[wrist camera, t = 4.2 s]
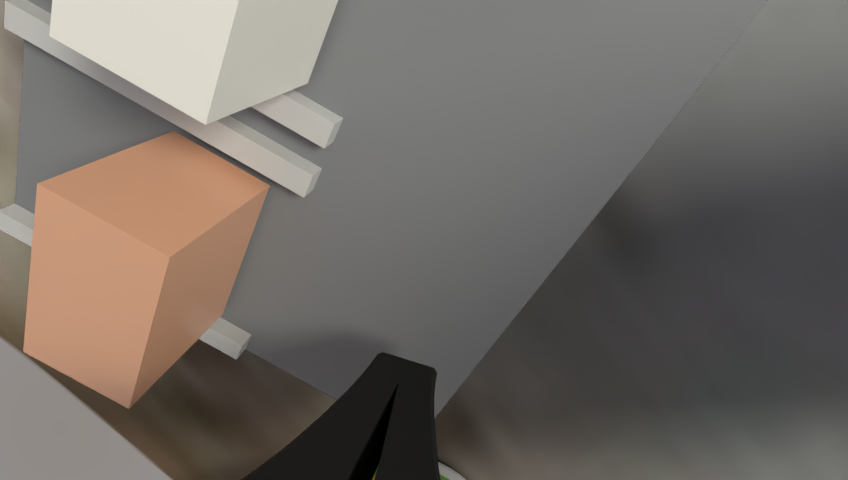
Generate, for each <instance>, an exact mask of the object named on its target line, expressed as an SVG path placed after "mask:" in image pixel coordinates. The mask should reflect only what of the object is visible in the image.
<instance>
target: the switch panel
mask: <svg viewBox="0 0 848 480" xmlns="http://www.w3.org/2000/svg"><path fill="white" fill-rule="evenodd" d="M767 1H768V0H338V2H337V5H336V8H335V11H334V13H333V16H332V19H331V21H330V24H329V27H328V30H327V32H326V35H325V38H324V40H323V43H322V46H321V49H320V51H319V54H318V57H317V59H316V62H315V65H314V68H313V70H312V73H311V76H310V78H309V81H308V84H305V85H303V86H300V87H298V88H295V89H293V90H290V91H288V92H285V93H283V94H280V95H278V96H275V97H273V98H271V99H268V100H266V101H263V102H261V103H258V104H256V105H253V106H251V107H248V108H246V109H243V110H241V111H238V112H236V113H233V114H231V115H229V116H226V117H224V118H221V119H219V120H216V121H214V122H211V123H209V124H206V125H205V124H203V123H201V122H200V121H198V120H196V119H194V118H193V117H191V116H189V115H187V114H186V113H184V112H182V111H180V110H179V109H177V108H175V107H173V106H172V105H170V104H168V103H166V102H164V101H163V100H161V99H159V98H157V97H156V96H154V95H152V94H150V93H149V92H147V91H145V90H143V89H142V88H140V87H138V86H136V85H135V84H133V83H131V82H129V81H128V80H126V79H124V78H122V77H121V76H119V75H117V74H115V73H113V72H112V71H110V70H108V69H106V68H105V67H103V66H101V65H99V64H98V63H96V62H94V61H92V60H91V59H89V58H87V57H85V56H84V55H82V54H80V53H78V52H77V51H75V50H73V49H71V48H70V47H68V46H66V45H64V44H63V43H61V42H59V41H57V40H55V39H54V38H52V37H50V36H49V34H50V22H51V10H52V0H5V18H4V28H6V29H7V30H9V31H11V32H13V33H14V34H16V35H18V36H20V37H21V38H23V39H24V56H23V73H22V91H21V108H20V126H19V143H18V161H17V178H16V196H15V204H13V205H10V206H8V207H5V208H3V209H1V210H0V230H2V231H4V232H6V233H7V234H9V235H11V236H13V237H15V238H16V239H18V240H20V241H22V242H24V243H26V244H27V245H29V246H31V247H32V239H33V227H34V215H35V203H36V191H37V183H40V182H43V181H45V180H48V179H50V178H53V177H55V176H58V175H61V174H63V173H66V172H68V171H71V170H74V169H76V168H79V167H81V166H84V165H87V164H89V163H92V162H94V161H97V160H99V159H102V158H105V157H107V156H110V155H112V154H115V153H118V152H120V151H123V150H125V149H128V148H131V147H133V146H136V145H138V144H141V143H144V142H146V141H149V140H151V139H154V138H156V137H159V136H162V135H164V134H167V133H169V132H172V131H175V132H177V133H178V134H180V135H182V136H184V137H185V138H187V139H189V140H191V141H192V142H194V143H196V144H198V145H200V146H201V147H203V148H205V149H207V150H208V151H210V152H212V153H214V154H215V155H217V156H219V157H221V158H222V159H224V160H226V161H228V162H230V163H231V164H233V165H235V166H237V167H238V168H240V169H242V170H244V171H245V172H247V173H249V174H251V175H252V176H254V177H256V178H258V179H259V180H261V181H263V182H265V183H267V184H268V185H270V187H269V190H268V192H267V195H266V198H265V201H264V203H263V206H262V209H261V211H260V214H259V217H258V220H257V222H256V225H255V228H254V230H253V233H252V236H251V239H250V241H249V244H248V247H247V249H246V252H245V255H244V258H243V260H242V263H241V266H240V268H239V271H238V274H237V277H236V279H235V282H234V285H233V287H232V290H231V293H230V296H229V298H228V301H227V304H226V306H225V309H224V312H223V315H222V316H221V317H220V318H219V319H218V320H217V321H216V322H215V323H214V324H213V325H212V326H211V327H210V328H209V329H208V330H207V331H206V332H205V333H204V334H203V335H202V336H201V337H200V338H199V339H200V340H202V341H203V342H205V343H207V344H209V345H211V346H212V347H214V348H216V349H218V350H220V351H222V352H223V353H225V354H227V355H229V356H231V357H232V358H234V359H236V360H237V358H238V357H239V356H240V355H241V354H242V352H243V351H244V350H247V351H249V352H251V353H253V354H255V355H256V356H258V357H260V358H262V359H264V360H265V361H267V362H269V363H271V364H273V365H274V366H276V367H278V368H280V369H282V370H284V371H285V372H287V373H289V374H291V375H293V376H294V377H296V378H298V379H300V380H302V381H303V382H305V383H307V384H309V385H311V386H312V387H314V388H316V389H318V390H320V391H322V392H323V393H325V394H327V395H329V396H331V397H332V398H334V399H336V400H338V399H339V398H340V397H341V396H342V395H343V394H344V393H345V392H346V391H347V390H348V389H349V388H350V387H351V386H352V385H353V383H354V382H355V381H356V380H357V379H358V378H359V377H360V376H361V375H362V373H363V372H364V371H365V370H366V369H367V367H368V366H369V365H370V364H371V362H372V361H373V360H374V358H375V357H376V355H377V354H379V353H382V352H385V353H388V354H391V355H394V356H397V357H401V358H404V359H407V360H410V361H414V362H417V363H420V364H423V365H427V366H430V367H433V368H434V369H435V370H436V372H437V377H436V384H435V396H434V418H435V417H436V416H437V415H438V413H439V412H440V411H441V410H442V408H443V407H444V406H445V405H446V403H447V402H448V401H449V400H450V398H451V397H452V396H453V395H454V393H455V392H456V391H457V390H458V388H459V387H460V386H461V385H462V383H463V382H464V381H465V380H466V378H467V377H468V376H469V375H470V373H471V372H472V371H473V370H474V368H475V367H476V366H477V365H478V363H479V362H480V361H481V360H482V358H483V357H484V356H485V355H486V353H487V352H488V351H489V350H490V348H491V347H492V346H493V345H494V343H495V342H496V341H497V340H498V338H499V337H500V336H501V335H502V333H503V332H504V331H505V330H506V328H507V327H508V326H509V325H510V323H511V322H512V321H513V319H514V318H515V317H516V316H517V314H518V313H519V312H520V311H521V309H522V308H523V307H524V306H525V304H526V303H527V302H528V301H529V299H530V298H531V297H532V296H533V294H534V293H535V292H536V291H537V289H538V288H539V287H540V286H541V284H542V283H543V282H544V281H545V279H546V278H547V277H548V276H549V274H550V273H551V272H552V271H553V269H554V268H555V267H556V266H557V264H558V263H559V262H560V261H561V259H562V258H563V257H564V256H565V254H566V253H567V252H568V251H569V249H570V248H571V247H572V246H573V244H574V243H575V242H576V241H577V239H578V238H579V237H580V236H581V234H582V233H583V232H584V230H585V229H586V228H587V227H588V225H589V224H590V223H591V222H592V220H593V219H594V218H595V217H596V215H597V214H598V213H599V212H600V210H601V209H602V208H603V207H604V205H605V204H606V203H607V202H608V200H609V199H610V198H611V197H612V195H613V194H614V193H615V192H616V190H617V189H618V188H619V187H620V185H621V184H622V183H623V182H624V180H625V179H626V178H627V177H628V175H629V174H630V173H631V172H632V170H633V169H634V168H635V167H636V165H637V164H638V163H639V162H640V160H641V159H642V158H643V157H644V155H645V154H646V153H647V152H648V150H649V149H650V148H651V147H652V145H653V144H654V143H655V142H656V140H657V139H658V138H659V136H660V135H661V134H662V133H663V131H664V130H665V129H666V128H667V126H668V125H669V124H670V123H671V121H672V120H673V119H674V118H675V116H676V115H677V114H678V113H679V111H680V110H681V109H682V108H683V106H684V105H685V104H686V103H687V101H688V100H689V99H690V98H691V96H692V95H693V94H694V93H695V91H696V90H697V89H698V88H699V86H700V85H701V84H702V83H703V81H704V80H705V79H706V78H707V76H708V75H709V74H710V73H711V71H712V70H713V69H714V68H715V66H716V65H717V64H718V63H719V61H720V60H721V59H722V58H723V56H724V55H725V54H726V53H727V51H728V50H729V49H730V48H731V46H732V45H733V44H734V42H735V41H736V40H737V39H738V37H739V36H740V35H741V34H742V32H743V31H744V30H745V29H746V27H747V26H748V25H749V24H750V22H751V21H752V20H753V19H754V17H755V16H756V15H757V14H758V12H759V11H760V10H761V9H762V7H763V6H764V5H765V4H766V2H767Z"/></svg>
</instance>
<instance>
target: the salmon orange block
mask: <svg viewBox="0 0 848 480" xmlns="http://www.w3.org/2000/svg"><path fill="white" fill-rule="evenodd" d="M269 187H270V185H268V184H267V183H265V182H263V181H261V180H259V179H258V178H256V177H254V176H252V175H251V174H249V173H247V172H245V171H244V170H242V169H240V168H238V167H237V166H235V165H233V164H231V163H230V162H228V161H226V160H224V159H222V158H221V157H219V156H217V155H215V154H214V153H212V152H210V151H208V150H207V149H205V148H203V147H201V146H200V145H198V144H196V143H194V142H192V141H191V140H189V139H187V138H185V137H184V136H182V135H180V134H178V133H177V132H175V131H172V132H169V133H167V134H164V135H162V136H159V137H156V138H154V139H151V140H149V141H146V142H144V143H141V144H138V145H136V146H133V147H131V148H128V149H125V150H123V151H120V152H118V153H115V154H112V155H110V156H107V157H105V158H102V159H99V160H97V161H94V162H92V163H89V164H87V165H84V166H81V167H79V168H76V169H74V170H71V171H68V172H66V173H63V174H61V175H58V176H55V177H53V178H50V179H48V180H45V181H43V182H40V183H37V191H36V203H35V215H34V227H33V239H32V251H31V263H30V275H29V288H28V300H27V312H26V324H25V336H24V348H23V352H25V353H27V354H28V355H30V356H32V357H34V358H36V359H38V360H39V361H41V362H43V363H45V364H47V365H49V366H50V367H52V368H54V369H56V370H58V371H60V372H62V373H63V374H65V375H67V376H69V377H71V378H73V379H74V380H76V381H78V382H80V383H82V384H84V385H86V386H87V387H89V388H91V389H93V390H95V391H97V392H98V393H100V394H102V395H104V396H106V397H108V398H110V399H111V400H113V401H115V402H117V403H119V404H121V405H122V406H124V407H126V408H128V409H129V408H130V407H131V406H132V405H133V404H134V403H135V402H136V401H137V400H138V399H139V398H140V397H141V396H142V395H143V394H144V393H145V392H146V391H147V390H148V389H149V388H150V387H151V386H152V385H153V384H154V383H155V382H156V381H157V380H158V379H159V378H160V377H161V376H162V375H163V374H164V373H165V372H166V371H167V370H168V369H169V368H170V367H171V366H172V365H173V364H174V363H175V362H176V361H177V360H178V359H179V358H180V357H181V356H182V355H183V354H184V353H185V352H186V351H187V350H188V349H189V348H190V347H191V346H192V345H193V344H194V343H195V342H196V341H197V340H198V339H199V338H200V337H201V336H202V335H203V334H204V333H205V332H206V331H207V330H208V329H209V328H210V327H211V326H212V325H213V324H214V323H215V322H216V321H217V320H218V319H219V318H220V317H221V316H222V315H223V312H224V309H225V306H226V304H227V301H228V298H229V296H230V293H231V290H232V287H233V285H234V282H235V279H236V277H237V274H238V271H239V268H240V266H241V263H242V260H243V258H244V255H245V252H246V249H247V247H248V244H249V241H250V239H251V236H252V233H253V230H254V228H255V225H256V222H257V220H258V217H259V214H260V211H261V209H262V206H263V203H264V201H265V198H266V195H267V192H268V190H269Z"/></svg>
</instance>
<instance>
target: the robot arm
mask: <svg viewBox="0 0 848 480" xmlns="http://www.w3.org/2000/svg"><path fill="white" fill-rule="evenodd" d="M436 377H437V372H436V370H435V369H434V368H433V367H430V366H427V365H423V364H420V363H417V362H414V361H410V360H407V359H404V358H401V357H397V356H394V355H391V354H388V353H385V352H382V353H379V354H377V355H376V357H375V358H374V360H373V361H372V362H371V364H370V365H369V366H368V367H367V369H366V370H365V371H364V372H363V373H362V375H361V376H360V377H359V378H358V379H357V380H356V381H355V382H354V383H353V385H352V386H351V387H350V388H349V389H348V390H347V391H346V392H345V393H344V394H343V395H342V396H341V397H340V398H339V399H338V400H337V401H336V402H335V403H334V404H333V405H332V406H331V407H330V408H329V409H328V410H327V411H326V412H325V413H324V414H323V415H322V416H321V417H319V418H318V419H317V420H316V421H315V422H314V423H313V424H311V425H310V426H309V427H308V428H307V429H306V430H305V431H304V432H302V433H301V434H300V435H299V436H298V437H297V438H296V439H294V440H293V441H292V442H291V443H290V444H288V445H287V446H286V447H285V448H283V449H282V450H281V451H280V452H278V453H277V454H276V455H275V456H273V457H272V458H271V459H269V460H268V461H267V462H265V463H264V464H263V465H261V466H260V467H259V468H257V469H256V470H254V471H253V472H252V473H250V474H249V475H247V476H246V477H244V478H243V479H242V480H372V479H373V476H374V474H375V472H376V469H377V467H378V469H377V472H376V475H375V478H374V480H441V479H440V473H439V465H438V457H437V446H436V435H435V418H434V396H435V384H436Z"/></svg>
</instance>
